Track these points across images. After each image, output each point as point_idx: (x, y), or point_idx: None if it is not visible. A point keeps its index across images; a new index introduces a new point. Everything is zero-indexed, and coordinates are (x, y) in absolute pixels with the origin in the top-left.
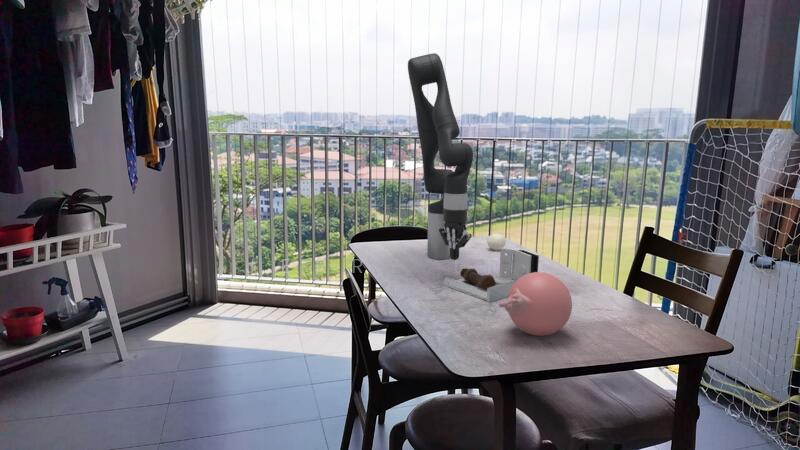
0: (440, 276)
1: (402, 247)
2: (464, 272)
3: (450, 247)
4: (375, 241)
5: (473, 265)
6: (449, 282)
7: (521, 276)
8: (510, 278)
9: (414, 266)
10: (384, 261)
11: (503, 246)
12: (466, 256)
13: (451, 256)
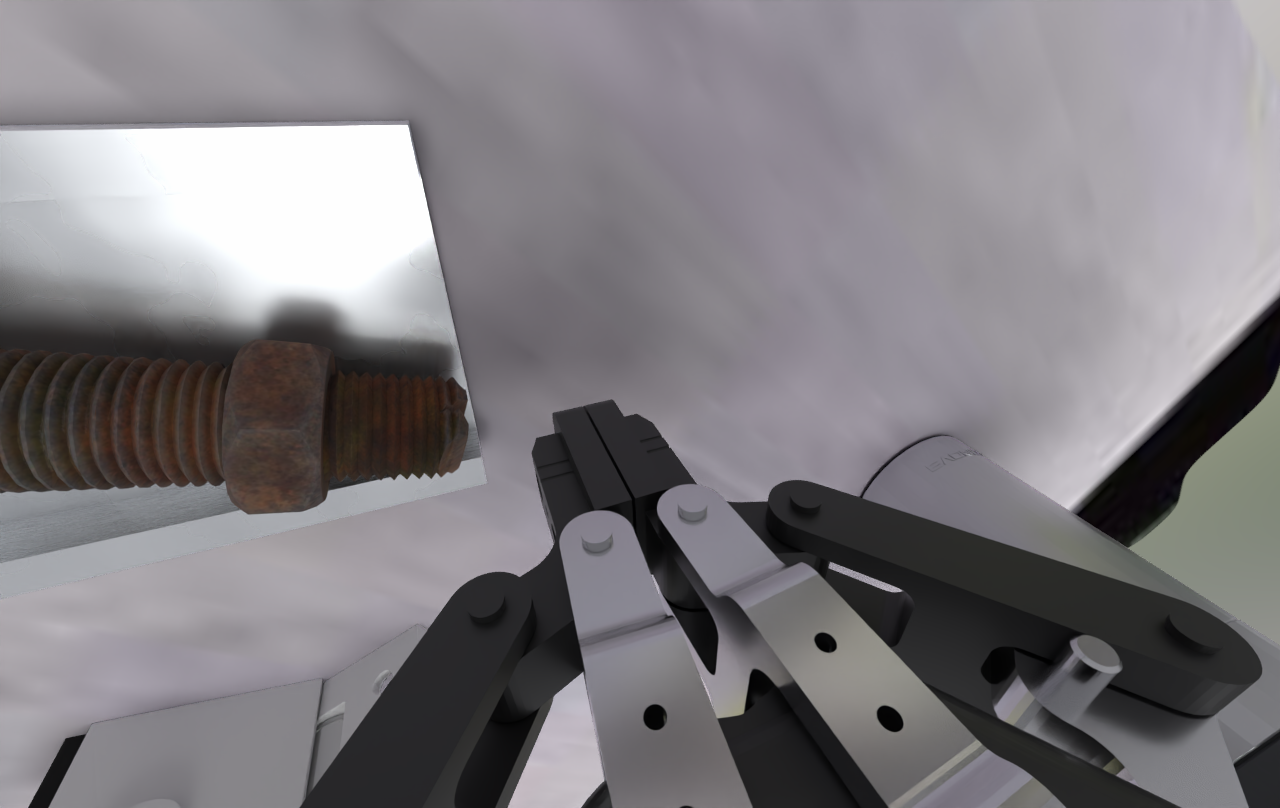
0: (666, 285)
1: (1103, 404)
2: (366, 400)
3: (674, 495)
4: (1230, 344)
5: None
6: (301, 124)
7: (188, 756)
8: (347, 670)
9: (936, 264)
10: (1136, 149)
11: None
12: None
13: (601, 419)
